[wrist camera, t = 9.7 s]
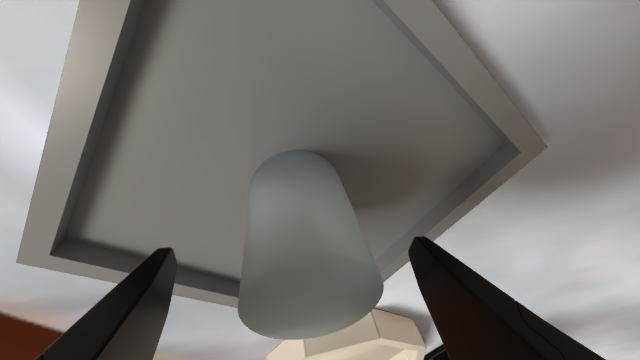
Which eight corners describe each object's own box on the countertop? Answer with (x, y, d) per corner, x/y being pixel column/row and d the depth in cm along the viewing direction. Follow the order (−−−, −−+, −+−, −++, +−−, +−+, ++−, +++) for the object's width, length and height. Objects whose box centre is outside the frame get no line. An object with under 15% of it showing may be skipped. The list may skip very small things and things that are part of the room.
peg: (357, 176, 13) (411, 279, 8) (306, 232, 14) (326, 346, 10) (282, 132, 11) (293, 233, 6) (233, 203, 12) (210, 328, 8)
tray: (521, 133, 14) (547, 146, 12) (325, 306, 20) (329, 326, 19) (186, -263, 6) (162, -342, 4) (42, 235, 12) (16, 262, 11)
